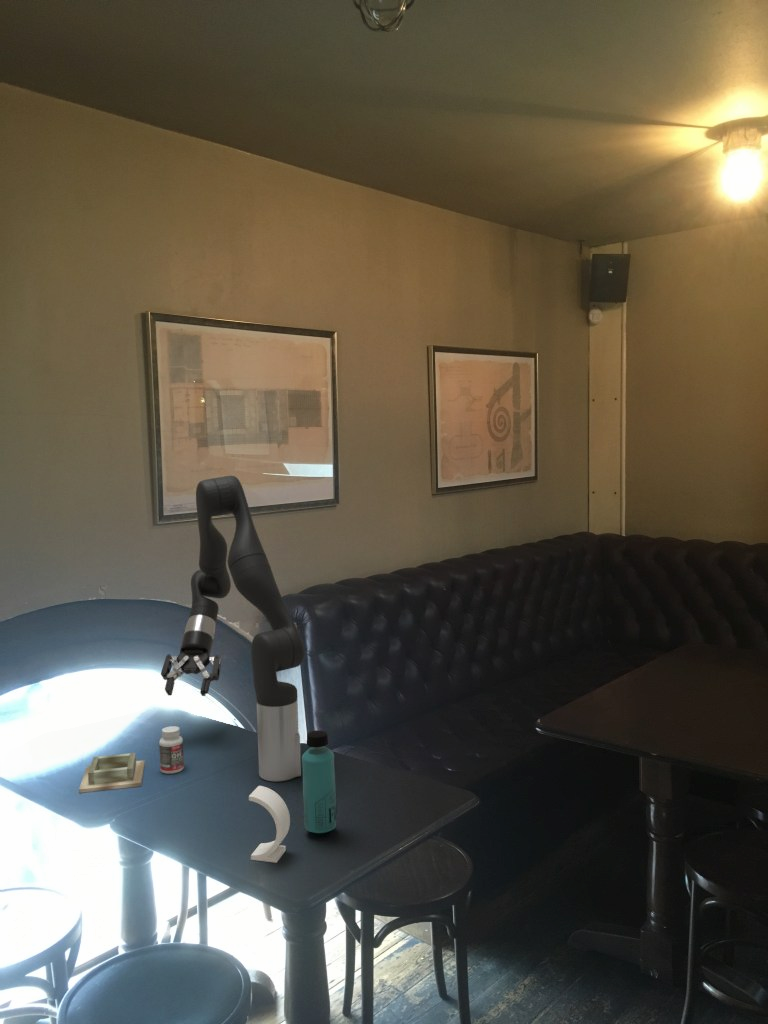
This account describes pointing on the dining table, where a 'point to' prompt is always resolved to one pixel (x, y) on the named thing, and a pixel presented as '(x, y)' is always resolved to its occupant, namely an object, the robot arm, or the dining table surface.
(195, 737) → the dining table surface
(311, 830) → the beverage bottle
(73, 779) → the dining table surface
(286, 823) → the headphone stand
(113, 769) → the holder
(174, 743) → the pill bottle
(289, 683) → the robot arm
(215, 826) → the dining table surface
